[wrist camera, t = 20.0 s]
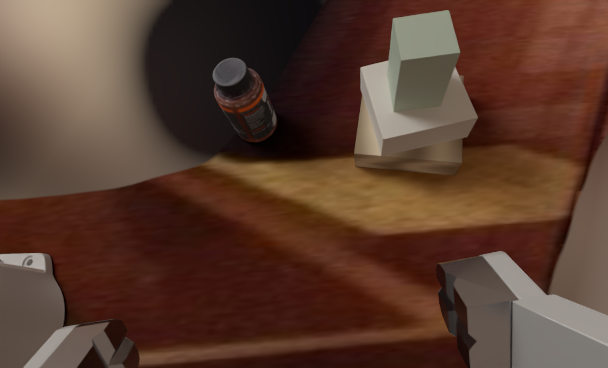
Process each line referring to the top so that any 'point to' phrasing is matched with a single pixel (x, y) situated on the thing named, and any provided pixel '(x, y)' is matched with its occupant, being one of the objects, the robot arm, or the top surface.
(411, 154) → the maple base slab
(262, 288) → the top surface
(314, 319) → the top surface
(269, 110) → the supplement bottle
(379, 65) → the white top slab
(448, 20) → the sage block
